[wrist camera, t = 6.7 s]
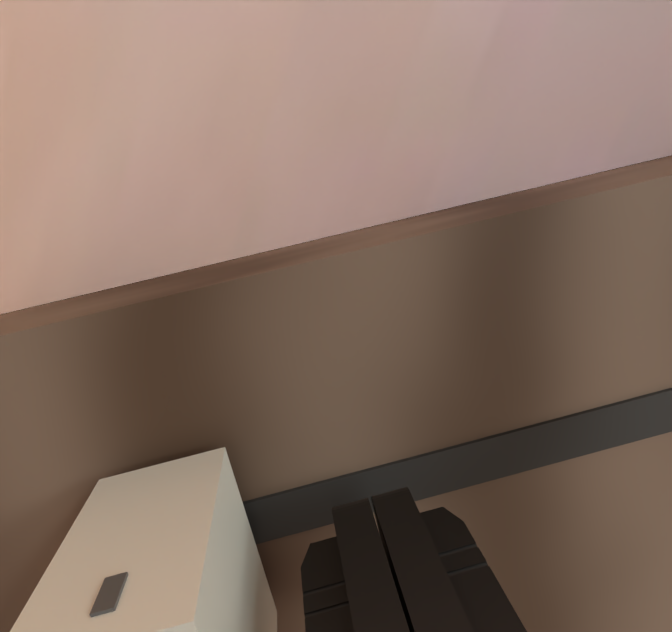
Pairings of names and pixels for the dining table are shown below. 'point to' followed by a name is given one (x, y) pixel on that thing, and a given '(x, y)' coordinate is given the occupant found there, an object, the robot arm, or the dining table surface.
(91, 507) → the cream fader
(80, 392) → the console
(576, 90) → the dining table surface
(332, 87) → the dining table surface
